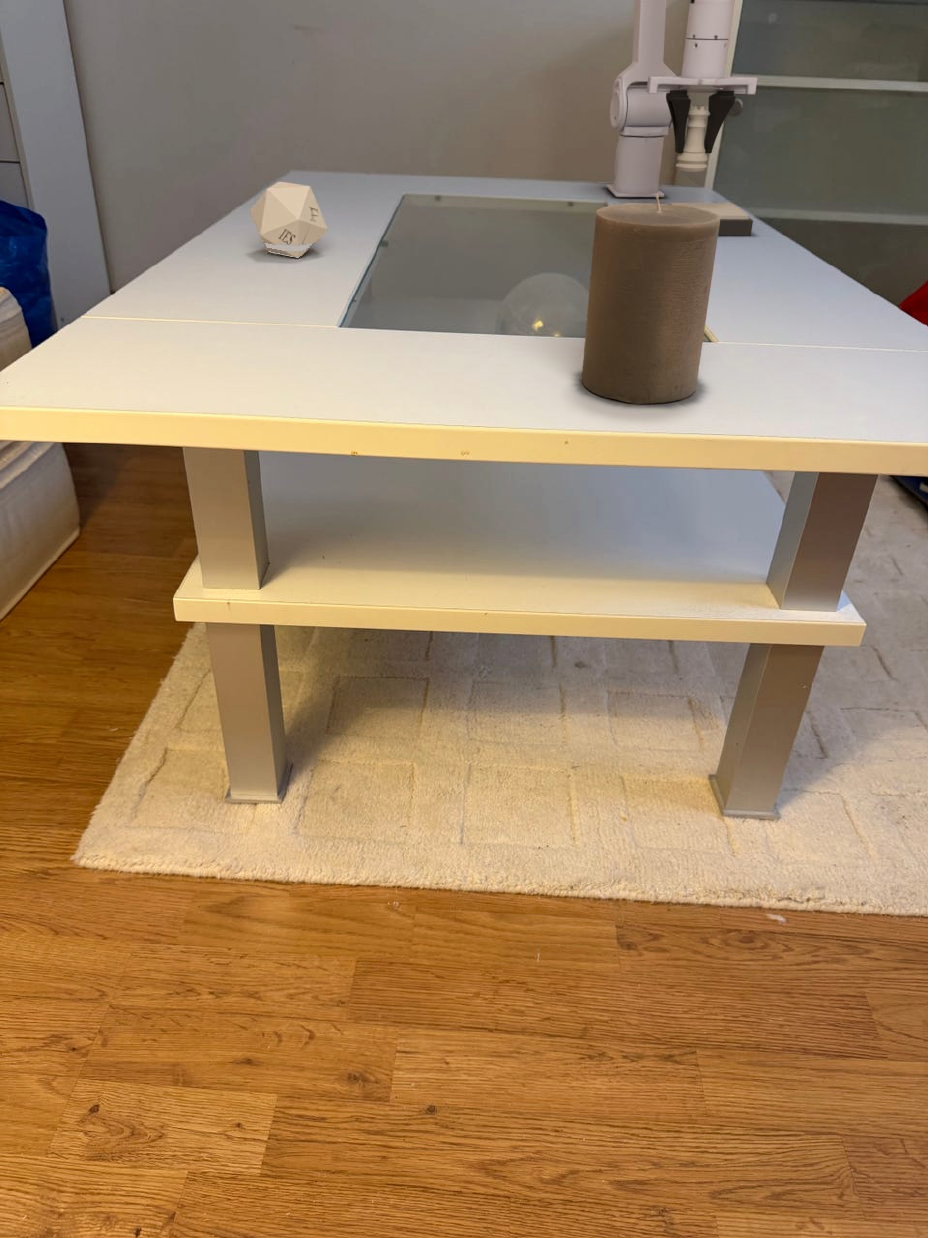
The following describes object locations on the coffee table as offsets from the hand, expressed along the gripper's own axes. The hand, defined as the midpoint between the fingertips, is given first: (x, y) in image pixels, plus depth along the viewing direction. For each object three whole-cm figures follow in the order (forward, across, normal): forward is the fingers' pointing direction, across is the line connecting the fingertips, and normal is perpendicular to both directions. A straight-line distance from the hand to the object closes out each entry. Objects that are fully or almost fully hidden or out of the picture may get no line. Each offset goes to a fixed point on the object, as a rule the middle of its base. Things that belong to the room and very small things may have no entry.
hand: (692, 152), depth 133 cm
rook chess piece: (+2, 0, 0) cm, 2 cm away
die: (+10, -55, -20) cm, 59 cm away
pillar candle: (+10, -19, -68) cm, 71 cm away
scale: (+9, +2, -4) cm, 10 cm away
